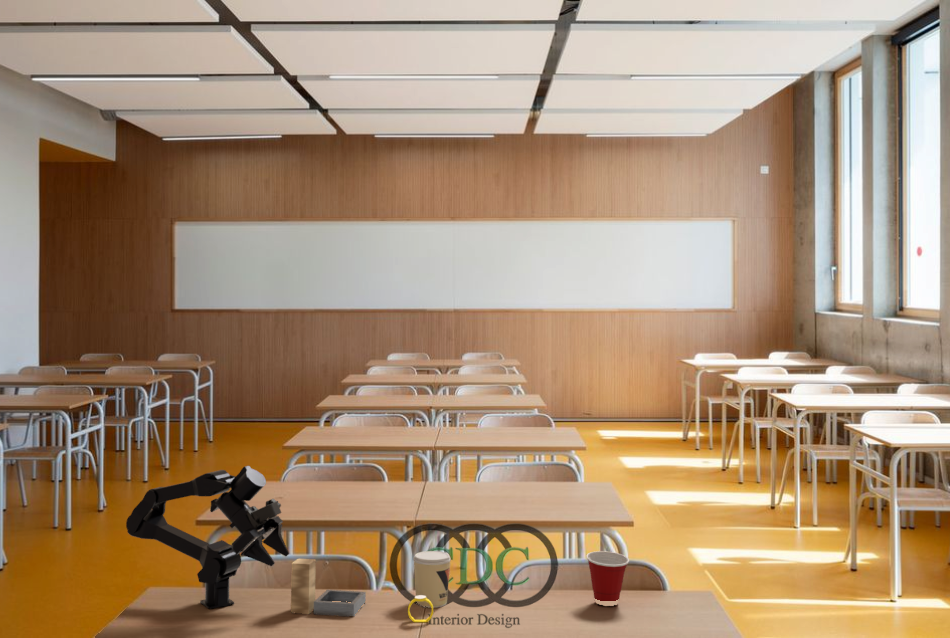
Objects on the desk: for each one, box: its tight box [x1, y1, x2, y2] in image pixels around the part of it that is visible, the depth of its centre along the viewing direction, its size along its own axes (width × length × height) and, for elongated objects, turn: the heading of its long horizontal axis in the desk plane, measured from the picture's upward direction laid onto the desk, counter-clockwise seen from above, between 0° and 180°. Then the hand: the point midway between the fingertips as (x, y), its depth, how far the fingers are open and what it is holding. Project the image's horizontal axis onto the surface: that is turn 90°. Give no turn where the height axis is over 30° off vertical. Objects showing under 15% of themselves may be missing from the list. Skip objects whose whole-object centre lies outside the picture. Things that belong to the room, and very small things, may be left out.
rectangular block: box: [290, 558, 317, 615], centre depth 213 cm, size 4×4×12 cm
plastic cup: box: [586, 550, 630, 601], centre depth 221 cm, size 11×11×12 cm
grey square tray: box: [313, 589, 367, 617], centre depth 214 cm, size 10×10×3 cm
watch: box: [407, 595, 434, 624], centre depth 206 cm, size 6×3×6 cm, turn 93°
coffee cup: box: [413, 550, 451, 609], centre depth 220 cm, size 9×9×12 cm
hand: (280, 559), depth 214 cm, fingers open, 9 cm apart
